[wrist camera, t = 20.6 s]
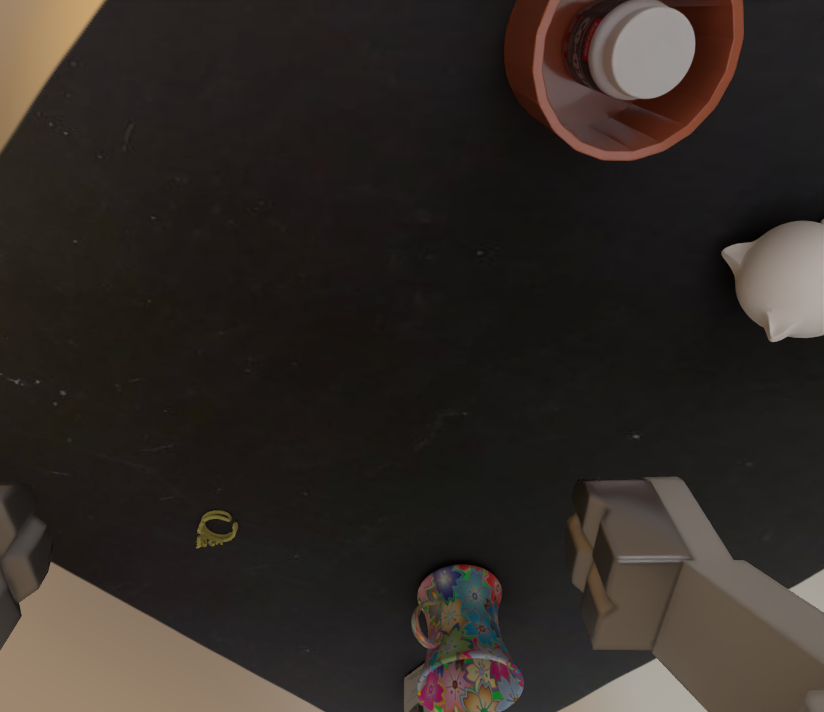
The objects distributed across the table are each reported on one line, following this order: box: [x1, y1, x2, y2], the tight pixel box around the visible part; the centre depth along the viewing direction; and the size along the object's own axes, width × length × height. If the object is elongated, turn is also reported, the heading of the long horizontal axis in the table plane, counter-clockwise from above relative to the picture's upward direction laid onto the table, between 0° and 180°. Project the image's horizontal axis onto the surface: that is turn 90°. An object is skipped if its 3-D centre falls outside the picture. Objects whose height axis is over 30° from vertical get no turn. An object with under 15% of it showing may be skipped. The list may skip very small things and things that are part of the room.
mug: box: [411, 564, 524, 712], centre depth 56 cm, size 12×9×11 cm
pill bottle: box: [563, 0, 695, 100], centre depth 32 cm, size 5×5×8 cm
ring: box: [196, 510, 238, 548], centre depth 55 cm, size 3×3×3 cm
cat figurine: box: [721, 219, 824, 342], centre depth 42 cm, size 9×11×12 cm
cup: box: [504, 0, 744, 161], centre depth 33 cm, size 10×10×9 cm
